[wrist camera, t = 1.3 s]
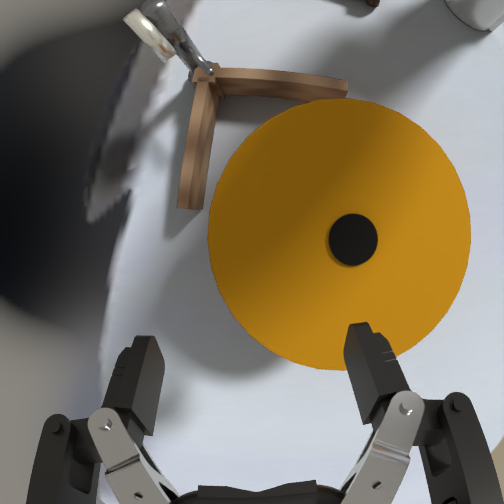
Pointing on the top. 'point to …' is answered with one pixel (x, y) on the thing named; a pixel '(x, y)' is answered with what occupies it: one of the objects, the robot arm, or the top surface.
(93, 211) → the top surface
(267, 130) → the spool
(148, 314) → the top surface
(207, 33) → the top surface
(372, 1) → the bolt
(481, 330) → the top surface
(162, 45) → the metal faucet
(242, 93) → the wooden v-shaped bracket
